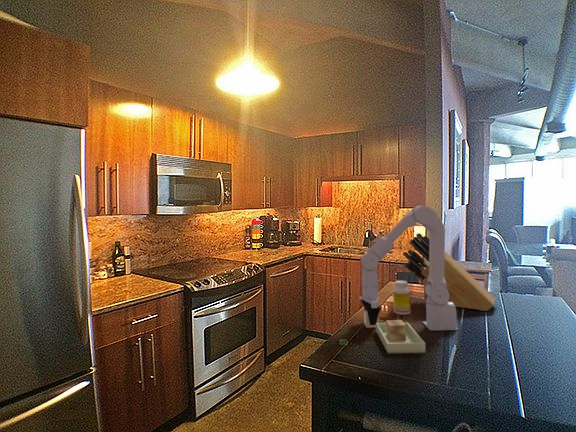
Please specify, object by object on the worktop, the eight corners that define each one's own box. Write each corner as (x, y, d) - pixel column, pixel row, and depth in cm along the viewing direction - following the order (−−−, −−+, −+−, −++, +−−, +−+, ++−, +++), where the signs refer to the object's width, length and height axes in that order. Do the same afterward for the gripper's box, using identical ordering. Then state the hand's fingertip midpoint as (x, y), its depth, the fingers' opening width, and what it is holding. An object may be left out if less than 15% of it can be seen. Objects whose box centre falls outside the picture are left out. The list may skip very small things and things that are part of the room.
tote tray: (408, 330, 117) (407, 322, 117) (425, 352, 100) (425, 343, 100) (376, 331, 117) (375, 323, 117) (387, 353, 100) (387, 343, 100)
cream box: (376, 322, 126) (375, 309, 126) (378, 327, 122) (378, 313, 121) (364, 323, 126) (363, 310, 126) (366, 327, 122) (365, 314, 122)
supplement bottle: (412, 315, 132) (411, 283, 132) (394, 315, 133) (393, 283, 133) (409, 310, 139) (408, 279, 138) (392, 309, 140) (391, 279, 139)
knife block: (410, 295, 160) (408, 231, 159) (496, 305, 139) (494, 232, 138) (403, 301, 151) (401, 233, 150) (493, 313, 130) (492, 235, 129)
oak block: (401, 334, 113) (401, 319, 113) (406, 340, 108) (405, 325, 108) (386, 334, 113) (386, 320, 113) (390, 340, 108) (389, 325, 108)
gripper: (356, 281, 131) (357, 314, 131) (362, 290, 116) (363, 328, 117) (374, 280, 130) (375, 314, 131) (382, 290, 116) (384, 328, 116)
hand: (371, 321), depth 124 cm, fingers open, 7 cm apart
